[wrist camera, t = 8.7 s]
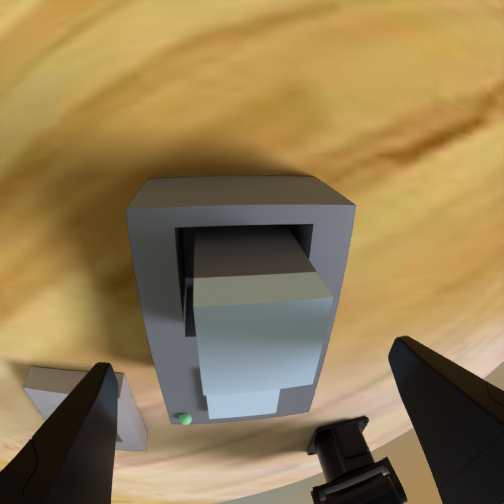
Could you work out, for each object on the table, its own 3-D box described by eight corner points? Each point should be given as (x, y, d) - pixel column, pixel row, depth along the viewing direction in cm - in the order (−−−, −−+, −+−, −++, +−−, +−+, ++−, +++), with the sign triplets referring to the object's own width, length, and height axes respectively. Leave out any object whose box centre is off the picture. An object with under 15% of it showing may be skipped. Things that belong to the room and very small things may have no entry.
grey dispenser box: (291, 361, 23) (311, 418, 18) (173, 369, 21) (171, 431, 16) (315, 176, 16) (362, 210, 11) (147, 179, 15) (121, 215, 10)
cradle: (147, 430, 25) (146, 451, 23) (67, 423, 24) (63, 442, 21) (124, 373, 21) (119, 398, 19) (31, 366, 20) (22, 387, 17)
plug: (269, 275, 18) (312, 384, 11) (199, 279, 17) (203, 395, 10) (274, 208, 16) (333, 297, 9) (195, 210, 15) (193, 307, 8)
